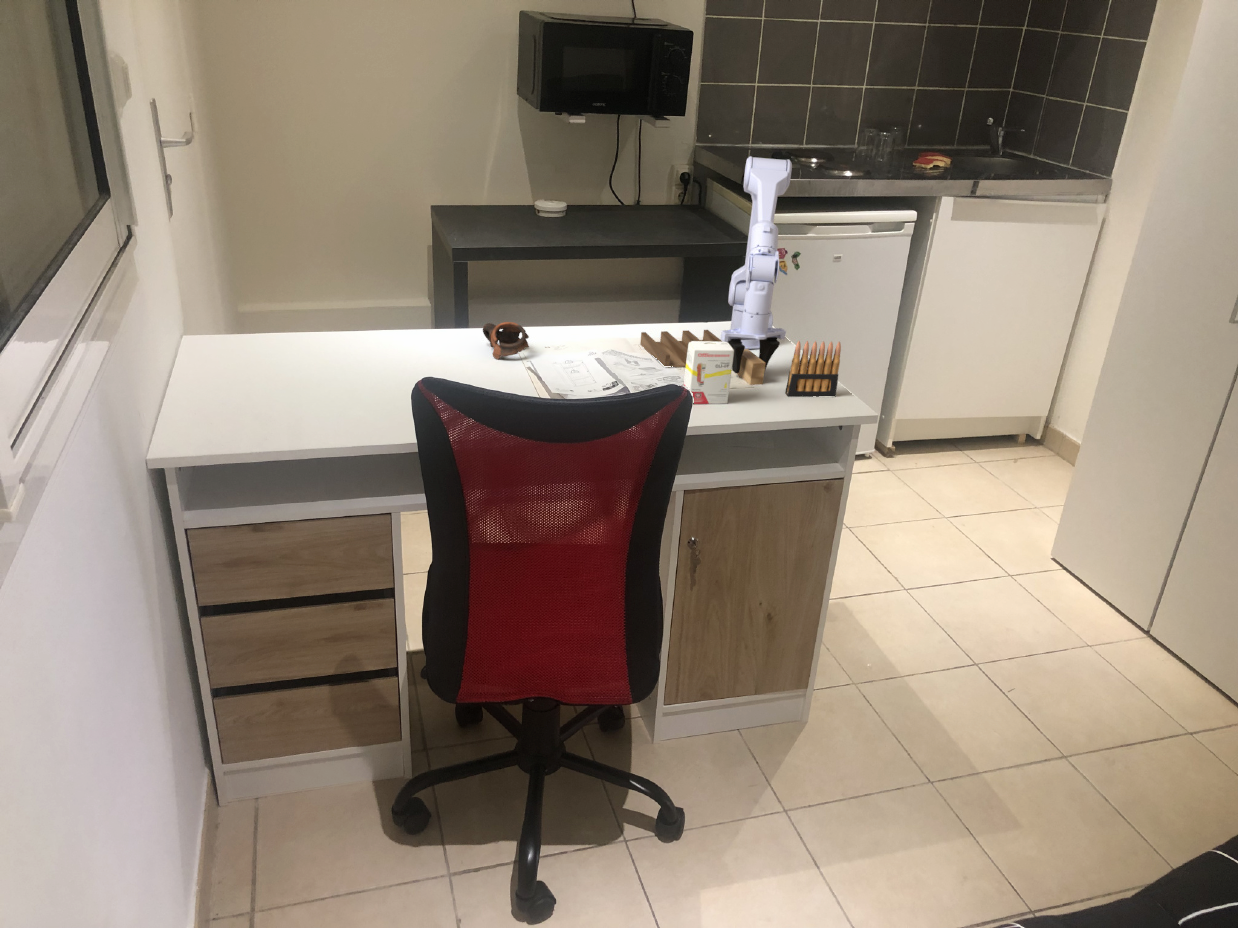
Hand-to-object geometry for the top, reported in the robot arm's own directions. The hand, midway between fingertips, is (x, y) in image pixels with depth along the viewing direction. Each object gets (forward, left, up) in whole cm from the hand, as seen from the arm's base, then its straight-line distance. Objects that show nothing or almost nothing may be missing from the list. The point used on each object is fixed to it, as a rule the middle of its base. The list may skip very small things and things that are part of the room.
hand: (748, 371), depth 208 cm
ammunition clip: (-9, +12, -2) cm, 15 cm away
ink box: (+15, +11, -2) cm, 19 cm away
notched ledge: (+8, -16, -1) cm, 18 cm away
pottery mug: (+49, -22, -2) cm, 54 cm away
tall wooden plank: (0, 0, -2) cm, 2 cm away
